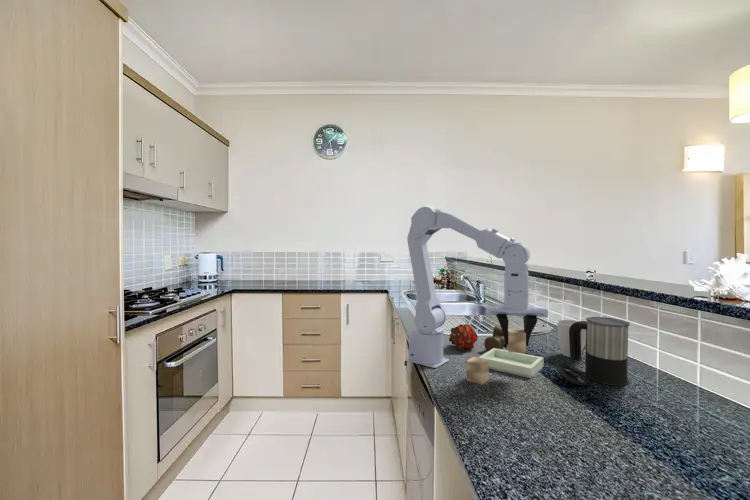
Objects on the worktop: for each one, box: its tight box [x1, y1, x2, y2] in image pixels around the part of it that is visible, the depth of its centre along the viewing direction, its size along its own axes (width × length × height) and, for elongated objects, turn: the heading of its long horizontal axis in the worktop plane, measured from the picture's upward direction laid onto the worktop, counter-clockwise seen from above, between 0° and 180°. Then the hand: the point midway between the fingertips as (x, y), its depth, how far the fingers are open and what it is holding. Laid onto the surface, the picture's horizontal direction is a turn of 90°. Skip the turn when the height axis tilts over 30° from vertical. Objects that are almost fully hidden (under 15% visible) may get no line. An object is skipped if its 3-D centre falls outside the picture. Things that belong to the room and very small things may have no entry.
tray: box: [477, 348, 545, 379], centre depth 98 cm, size 14×11×2 cm
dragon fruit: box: [448, 323, 479, 351], centre depth 115 cm, size 8×8×12 cm
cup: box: [556, 319, 586, 358], centre depth 107 cm, size 8×8×10 cm
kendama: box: [483, 324, 505, 352], centre depth 117 cm, size 6×10×20 cm
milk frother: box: [556, 316, 631, 387], centre depth 88 cm, size 14×16×15 cm
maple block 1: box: [466, 356, 490, 386], centre depth 88 cm, size 4×4×5 cm
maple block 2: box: [506, 328, 527, 354], centre depth 90 cm, size 4×4×5 cm
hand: (516, 344), depth 90 cm, fingers closed on maple block 2, 4 cm apart
